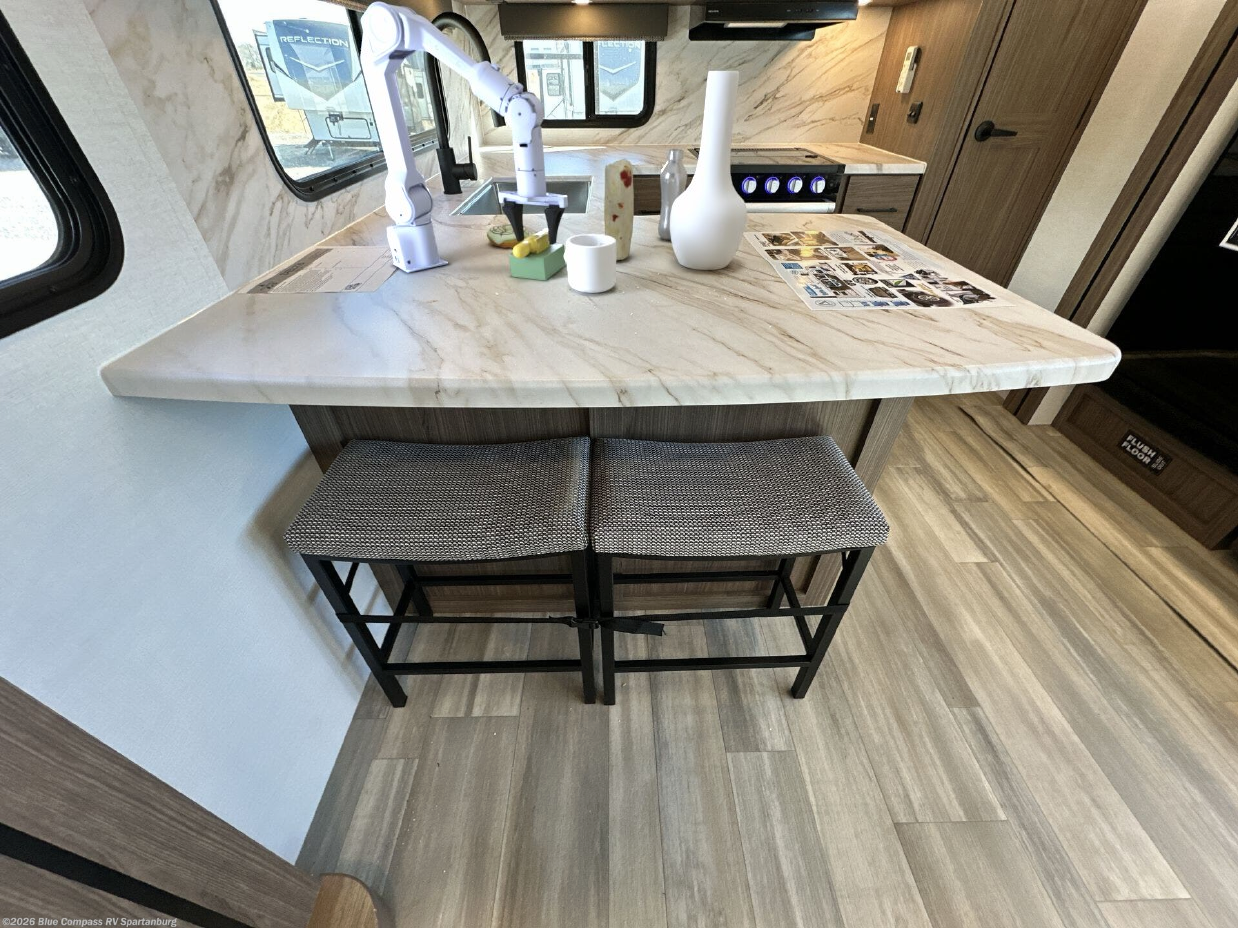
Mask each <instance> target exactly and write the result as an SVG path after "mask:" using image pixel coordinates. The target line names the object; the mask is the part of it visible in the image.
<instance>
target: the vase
mask: <svg viewBox="0 0 1238 928" xmlns="http://www.w3.org/2000/svg"><path fill="white" fill-rule="evenodd" d="M706 79H707V80H706V89H705V101H704V112H703V122H702V131H701V138H700V147H699V154H698V158H697V164H696V167H695V172H694V175H693V177H692V179H691V182H690V183H689V185H688V187H687V188H685V191H684V192H683V193H682V194H681V195H680V196H679V197H678V198H677V199H676V200H675V202H674V203H673V206H672V209H671V214H670V234H671V240H670V241H671V245H672V249H673V253H674V255H675V257H676V259H677V261H678V264H680V265H681V266H682V267H686V268H689V269H692V270H700V271H713V270H714V271H715V270H716V271H717V270H720V269H725V268H726V267H728V266H729V264H730V263H731V262H732V260H733V258H734V257H735V256H736V254H737V252H738V249H739V247H740V245H741V243H742V240H743V237H744V234H745V231H746V226H747V222H748V221H747V220H748V209H747V205H746V203H745V200H744V199H743V198H742V196H740V194H738V191H736V188H735V187H734V185H733V181H732V176H731V175H732V174H731V154H732V153H731V151H732V140H733V131H734V130H733V129H734V122H735V114H736V105H737V97H738V90H739V82H740V81H739V80H740V71H738V70H708V73H707V78H706Z"/></svg>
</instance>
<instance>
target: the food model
mask: <svg viewBox="0 0 1238 928" xmlns="http://www.w3.org/2000/svg"><path fill="white" fill-rule="evenodd" d="M634 198H635V197H634V174H633V164H632V163H631V161H630V160H629V159H627V158H622V159H619V160H615V161H613V162H612V163H608V165H607V164H605V167H604V201H603V215H604V217H603V218H604V219H603V220H604V235H607V236H611V237H613V238H614V239H615V240H616V261H619V260H621V261H622V260H625V259H626V258H628V256H629V254H630V251H631V244H632V238H633V232H634V218H635V217H634V216H635V215H634V212H635V211H634V206H635V205H634V201H635V200H634Z"/></svg>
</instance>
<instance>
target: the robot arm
mask: <svg viewBox="0 0 1238 928" xmlns="http://www.w3.org/2000/svg"><path fill="white" fill-rule="evenodd" d="M360 24H361V27H362V32H363V33H362V39H361V40H362V41H361V48H360V50H361V51H360V65H361V69H362V72H363V76H364V80H365V83H366V88H367V91H368V95H369V99H370V104H371V108H372V111H373V115H374V119H375V123H376V127H377V131H378V135H379V138H380V142H381V147H382V150H383V155H384V159H385V162H386V166H387V170H388V174H387V176H386V178H385V181H384V189H385V201H384V202H385V203H384V204H385V209H386V212H387V214H388V215H389V217H390V218H391V219H392V220H393V221H395V223H394V224H393V225H389V226H387V228H386V237H387V240H388V241H387V242H388V245H389V248H390V253H391V256H392V260H393V261H392V264H393V265H394V266H396V267H397V268H399V269H401V270H402V271H404V272H406V273H413V272H419V271H422V270H427V269H431V268H437V267H440V266H445V265H448V261H446V260H444V259H442V258H440V254H439V250H438V244H437V240H436V235H435V230H434V226H433V221H432V216H431V215H432V214H431V212H432V211H433V209H434V197H433V195H432V193H431V192H430V190H429V188H428V187H427V184H426V180H425V177H424V175H422V174H421V172H420V171H419V170H418V169H417V165H416V161H415V156H414V152H413V146H412V143H411V142H412V141H411V138H410V134H409V130H408V125H407V120H406V116H405V112H404V108H403V107H404V106H403V103H402V98H401V93H400V90H399V86H398V82H397V77H396V73H397V71H398V70H399V68H400V67H401V66H402V64H403V63H404V62H405V59H407V58H408V57H411V55H413V54H415V53H416V52H418V51H422V52H427V53H430V55H432V56H433V57H435V58H436V59H438V60H439V61H440V62H442V63H443V64H444V65H446V66H447V67H449V68H450V69H451V70H453V71H454V72H455V73H457V74H458V75H460V76H461V77H462V78H464V79H466V80H467V82H468V83H469V85H470V86H469V87H470V90H471V92H472V94H473V95H474V96H475V97H477V98H478V99H479V100H480V101H482V102H483V103H485V104H486V105H487V106H489V107H490V108H491V109H492V110H493V111H495V112H496V113H497V114H498V115H500V116H501V117H502V118H503V117H504V118H505V121H506V123H507V125H508V126H509V128H510V129H511V137H512V149H513V159H514V170H515V178H516V189H517V190H514V191H513V190H500V191H498V192H497V195H498V202H499V204H503V206H501V210H502V212H503V213H504V215H505V216H506V218H507V220H508V222H509V224H511V226H512V228H513V231H514V233H515V236H516V239H517V242H520V241H522V240H524V229H523V227H524V205H532V206H546V208H544V209H543V213H544V216H545V220H546V226H547V229H548V237H549V244H550V245H554V244H557V239H558V233H559V227H560V223H561V221H562V218H563V215H564V212H565V210H566V208H567V207H568V206H569V202H568V199H569V198H568V195H566V194H565V195H564V194H557V193H551V192H547V181H546V167H545V153H544V142H543V132H542V126H541V125H542V123H543V122H544V118H545V110H544V105H543V104H542V102H541V100H540V98H539V97H537V95H536V94H535V93H534V92H532V91H524V86H523V84H522V83H520V82H515V81H513V80H512V79H511V78H509V77H508V76H507V75H506V74H504V73H503V72H502V71H501V66H500V65H499V64H498V63H497V62H495V61H493V62H489V61H488V60H484V61H481V62H478V61H476V60H475V59H473V57H471V55H469V54H468V53H467V52H466V51H465V50H464V49H462V48H461V47H460V46H459V45H457V44H456V43H455V42H454V40H453V41H452V40H451V39H450V38H449V37H448V36H447V35H446V34H444V32H443V31H441V30H440V29H439V28H438V27H436V26H435V24H433V23H432V22H431V21H430V20H428V19H427V18H426V17H424V16H423V15H419V14H417V12H415V11H414V9H412V8H410V7H408V6H404V5H401V6H399V5H393V4H388V3H386V2H383V1H373V2H372V3H371V4H370V5H368V7H367V8H366V10H365V11H364V13H363V15H362V16H361V17H360Z"/></svg>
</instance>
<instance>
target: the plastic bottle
mask: <svg viewBox="0 0 1238 928" xmlns="http://www.w3.org/2000/svg"><path fill="white" fill-rule="evenodd" d="M666 155H667V156H666V159H667V162H666V163H665V165H664V166H663V167H662V169H661V171H660V175H659V177H660V178H659V179H660V189H661V190H660V191H661V207H660V214H659V220H658V226H657V233H658V235H659V237H660V238H661V239H663V240H667V241H668V240H669V241H671V234H670V214H671V209H672V206H673V203H674V202H675V200H676V199H677V198H678V197H679V196H680V195H681V194H682V193H683V192H684V191H686V186H687V185H686V184H687V180H688V173H687V170H686V167H685V165H684V164H683V160H684V149H680V148H669V149H667V154H666Z"/></svg>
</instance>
